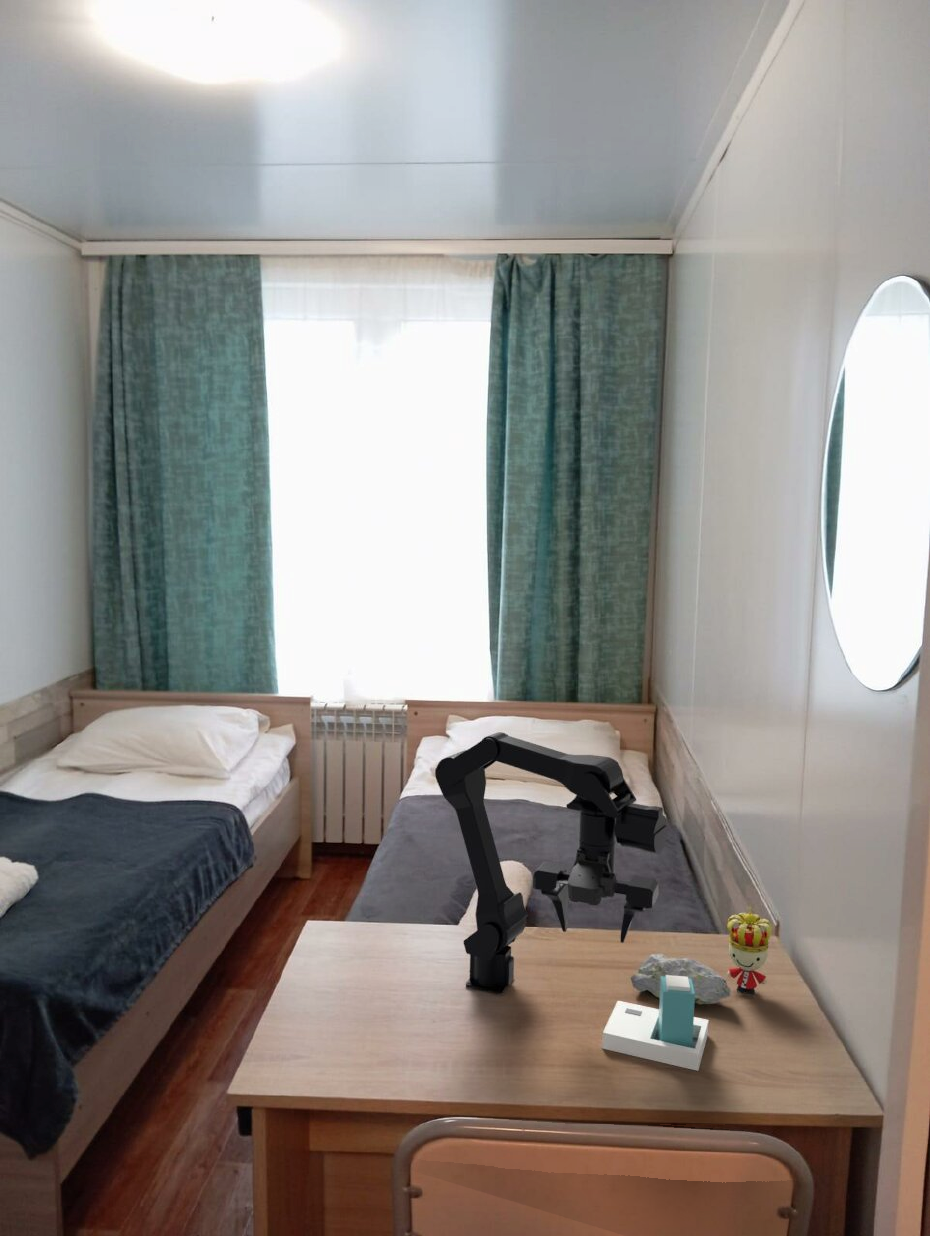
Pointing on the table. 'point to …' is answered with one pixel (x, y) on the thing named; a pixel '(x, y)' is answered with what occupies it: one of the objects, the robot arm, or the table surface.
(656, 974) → the rock
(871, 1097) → the table surface
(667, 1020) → the plug
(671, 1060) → the socket plate
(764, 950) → the toy
